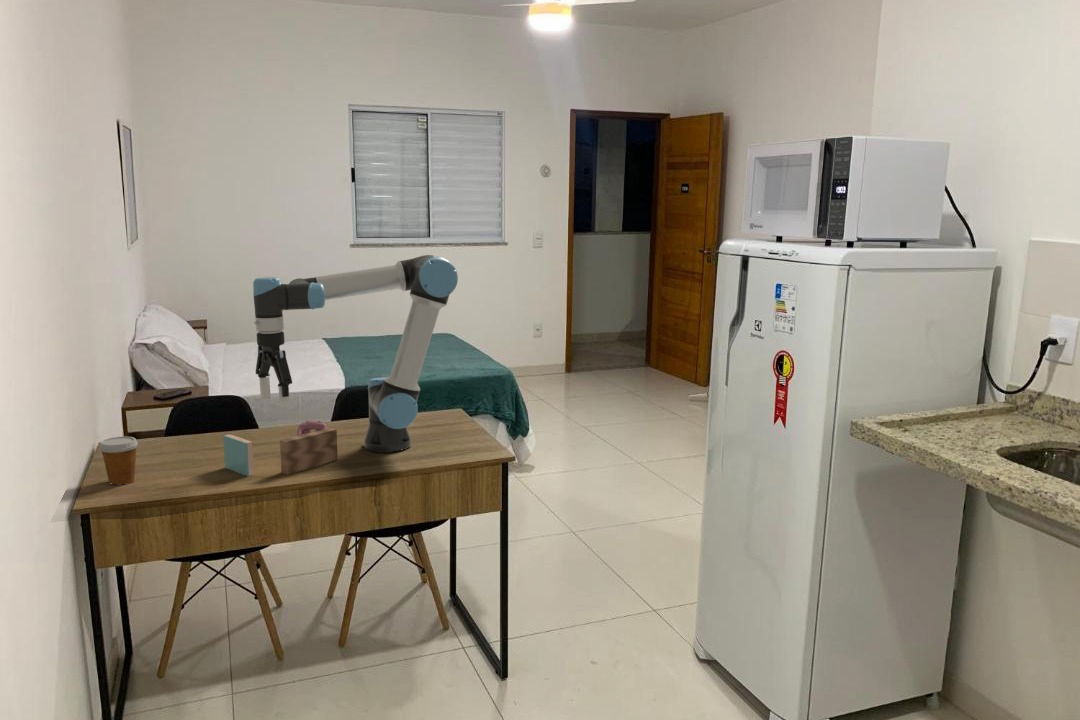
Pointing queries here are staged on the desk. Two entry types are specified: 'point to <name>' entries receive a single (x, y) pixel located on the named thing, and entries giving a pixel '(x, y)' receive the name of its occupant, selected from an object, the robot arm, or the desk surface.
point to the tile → (238, 455)
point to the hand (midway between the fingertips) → (275, 403)
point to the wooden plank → (308, 450)
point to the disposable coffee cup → (119, 459)
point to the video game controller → (310, 427)
